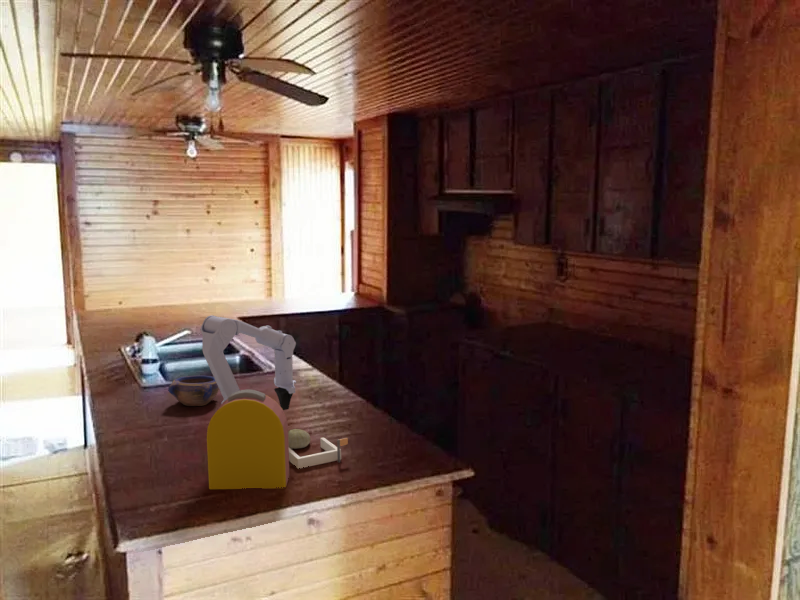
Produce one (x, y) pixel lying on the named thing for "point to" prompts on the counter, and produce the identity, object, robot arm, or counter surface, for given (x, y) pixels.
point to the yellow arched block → (248, 443)
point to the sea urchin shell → (298, 438)
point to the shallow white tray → (319, 454)
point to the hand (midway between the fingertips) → (284, 409)
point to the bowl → (194, 390)
